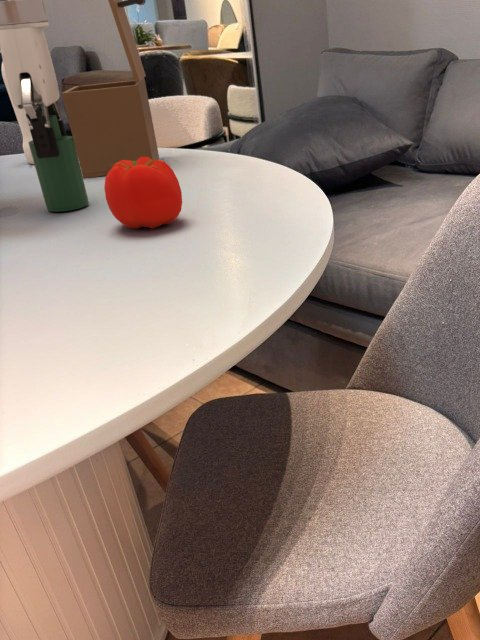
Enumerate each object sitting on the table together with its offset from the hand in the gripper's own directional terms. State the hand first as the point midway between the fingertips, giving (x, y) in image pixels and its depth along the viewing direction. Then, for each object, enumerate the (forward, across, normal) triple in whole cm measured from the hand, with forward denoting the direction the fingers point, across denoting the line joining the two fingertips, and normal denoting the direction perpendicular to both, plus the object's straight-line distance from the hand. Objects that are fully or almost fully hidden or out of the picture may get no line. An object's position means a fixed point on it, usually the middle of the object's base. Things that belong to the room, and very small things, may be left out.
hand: (53, 151), depth 98 cm
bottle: (+9, -48, -14) cm, 51 cm away
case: (+9, -30, +5) cm, 31 cm away
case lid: (-14, -30, +11) cm, 35 cm away
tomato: (+9, +16, +14) cm, 23 cm away
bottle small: (+8, 0, 0) cm, 8 cm away
